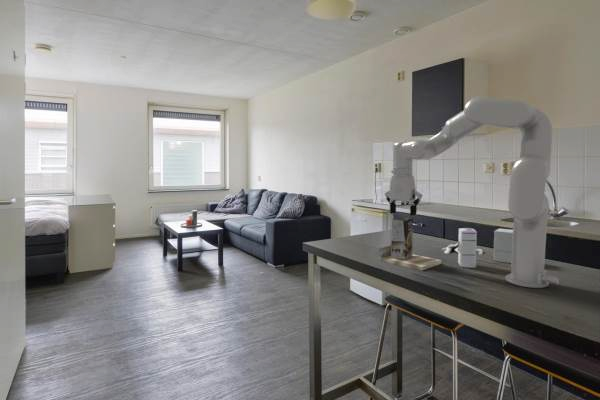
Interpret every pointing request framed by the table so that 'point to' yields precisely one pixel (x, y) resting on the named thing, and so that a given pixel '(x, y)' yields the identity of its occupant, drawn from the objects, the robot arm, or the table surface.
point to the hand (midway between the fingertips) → (402, 214)
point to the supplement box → (503, 245)
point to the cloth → (455, 249)
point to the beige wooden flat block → (410, 262)
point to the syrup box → (467, 247)
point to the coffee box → (402, 238)
